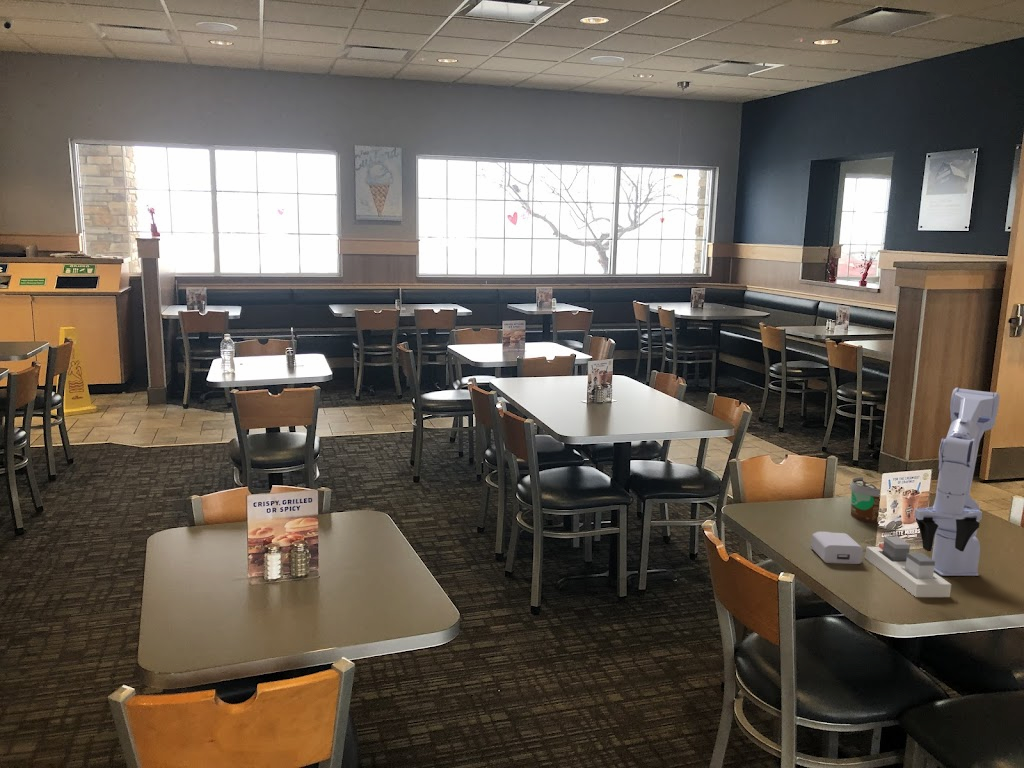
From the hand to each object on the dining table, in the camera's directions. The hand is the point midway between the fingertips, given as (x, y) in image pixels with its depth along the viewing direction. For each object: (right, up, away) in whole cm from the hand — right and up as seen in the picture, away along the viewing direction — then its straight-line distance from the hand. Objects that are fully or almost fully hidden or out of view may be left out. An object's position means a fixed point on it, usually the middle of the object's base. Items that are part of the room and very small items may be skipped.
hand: (943, 549), depth 185 cm
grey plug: (-4, -9, +4) cm, 11 cm away
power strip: (-4, -8, +9) cm, 13 cm away
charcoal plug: (-4, -7, +14) cm, 17 cm away
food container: (+2, -1, +50) cm, 51 cm away
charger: (-16, -6, +24) cm, 29 cm away
